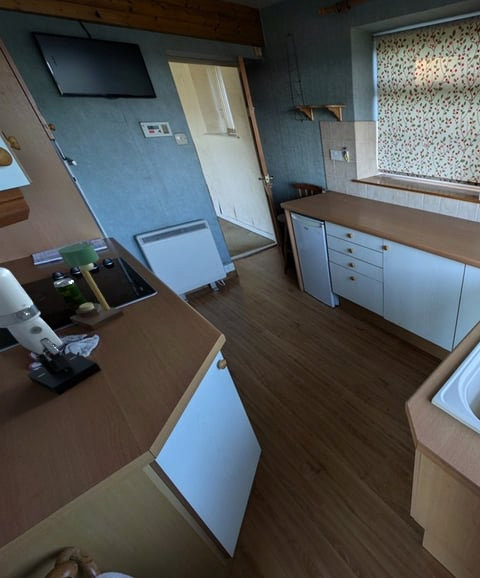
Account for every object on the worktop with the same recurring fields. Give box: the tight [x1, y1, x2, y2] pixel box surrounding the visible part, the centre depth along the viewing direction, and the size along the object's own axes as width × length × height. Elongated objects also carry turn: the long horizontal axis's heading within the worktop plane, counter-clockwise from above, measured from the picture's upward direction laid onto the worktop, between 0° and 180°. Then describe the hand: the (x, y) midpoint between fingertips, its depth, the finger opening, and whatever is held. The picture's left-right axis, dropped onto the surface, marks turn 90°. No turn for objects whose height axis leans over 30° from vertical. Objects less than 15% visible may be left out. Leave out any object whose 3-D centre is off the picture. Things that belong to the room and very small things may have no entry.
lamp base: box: [69, 302, 125, 331], centre depth 109 cm, size 13×10×4 cm
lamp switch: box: [80, 301, 94, 311], centre depth 109 cm, size 4×4×2 cm
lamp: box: [58, 242, 110, 311], centre depth 101 cm, size 8×8×25 cm
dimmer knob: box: [37, 351, 63, 372], centre depth 83 cm, size 4×4×5 cm
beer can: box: [53, 277, 88, 312], centre depth 113 cm, size 5×5×12 cm
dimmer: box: [26, 351, 102, 396], centre depth 85 cm, size 13×10×3 cm
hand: (57, 365), depth 84 cm, fingers closed on dimmer knob, 4 cm apart
